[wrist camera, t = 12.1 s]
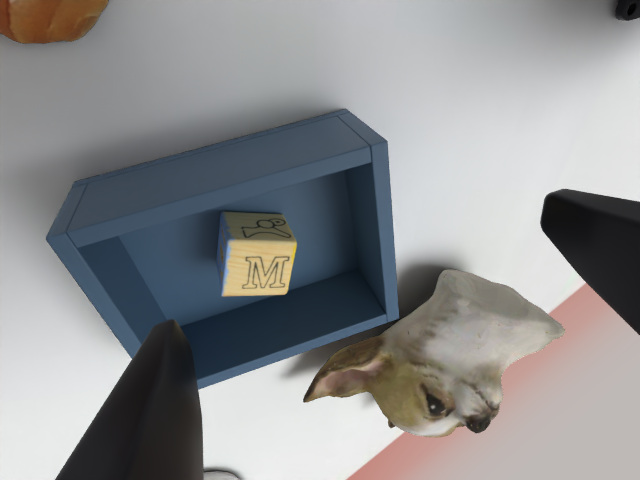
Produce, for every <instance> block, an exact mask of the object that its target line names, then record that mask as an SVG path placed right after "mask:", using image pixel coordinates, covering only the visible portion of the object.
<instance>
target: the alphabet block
mask: <svg viewBox="0 0 640 480" xmlns="http://www.w3.org/2000/svg"><path fill="white" fill-rule="evenodd" d="M296 247H297V242H296V240H295V238H294V236H293V234H292V232H291V230H290V228H289V226H288V224H287V222H286V220H285V218H284V216H283V214H266V213H244V212H225V211H222V212H221V215H220V226H219V237H218V248H217V258H216V264H217V270H218V276H219V283H220V290H221V296H224V297H225V296H256V295H285V294H286V293H287V291H288V286H289V282H290V276H291V271H292V266H293V262H294V257H295V252H296Z"/></svg>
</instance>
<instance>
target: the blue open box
mask: <svg viewBox="0 0 640 480" xmlns="http://www.w3.org/2000/svg"><path fill="white" fill-rule="evenodd" d="M222 211H225V212H244V213H266V214H283V216H284V218H285V220H286V222H287V224H288V226H289V228H290V230H291V232H292V234H293V236H294V238H295V240H296V242H297V247H296V252H295V257H294V262H293V266H292V271H291V276H290V282H289V286H288V291H287V293H286V294H285V295H256V296H225V297H224V296H221V290H220V283H219V276H218V270H217V264H216V258H217V248H218V237H219V226H220V215H221V212H222ZM46 240H47V242H48V243H49V245H50V246H51V247H52V249H53V250H54V251H55V253H56V254H57V256H58V257H59V258H60V260H61V261H62V263H63V264H64V265H65V267H66V268H67V269H68V271H69V272H70V274H71V275H72V276H73V278H74V279H75V281H76V282H77V283H78V285H79V286H80V287H81V289H82V290H83V292H84V293H85V294H86V296H87V297H88V299H89V300H90V301H91V303H92V304H93V305H94V307H95V308H96V310H97V311H98V312H99V314H100V315H101V317H102V318H103V319H104V321H105V322H106V323H107V325H108V326H109V328H110V329H111V330H112V332H113V333H114V335H115V336H116V337H117V339H118V340H119V341H120V343H121V344H122V346H123V347H124V348H125V350H126V351H127V353H128V354H129V355H130V357H131V358H132V359H133V357H134V356H135V354H136V353H137V351H138V349H139V348H140V346H141V345H142V343H143V342H144V340H145V338H146V337H147V335H148V334H149V332H150V331H151V329H152V328H153V326H154V325H156V324H158V323H161V322H164V321H167V320H170V319H173V320H175V321H176V322H177V323H178V324H179V326H180V328H181V329H182V331H183V333H184V334H185V336H186V338H187V340H188V341H189V343H190V345H191V348H192V353H193V359H194V366H195V373H196V379H197V386H198V389H201V388H204V387H207V386H210V385H213V384H215V383H218V382H221V381H224V380H227V379H230V378H232V377H235V376H238V375H241V374H244V373H247V372H249V371H252V370H255V369H258V368H261V367H263V366H266V365H269V364H272V363H275V362H278V361H280V360H283V359H286V358H289V357H292V356H295V355H297V354H300V353H303V352H306V351H309V350H312V349H314V348H317V347H320V346H323V345H326V344H329V343H331V342H334V341H337V340H340V339H343V338H346V337H348V336H351V335H354V334H357V333H360V332H363V331H365V330H368V329H371V328H374V327H377V326H380V325H382V324H385V323H387V322H391V321H394V320H396V319H399V308H398V293H397V278H396V263H395V248H394V233H393V218H392V204H391V189H390V174H389V159H388V144H387V141H386V140H385V139H384V138H383V137H381V136H380V135H379V134H378V133H376V132H375V131H374V130H373V129H371V128H370V127H369V126H367V125H366V124H365V123H364V122H362V121H361V120H360V119H359V118H357V117H356V116H355V115H354V114H352V113H351V112H350V111H348V110H347V109H344V110H340V111H336V112H333V113H329V114H325V115H322V116H318V117H314V118H310V119H307V120H303V121H299V122H295V123H292V124H288V125H284V126H281V127H277V128H273V129H269V130H266V131H262V132H258V133H254V134H251V135H247V136H243V137H240V138H236V139H232V140H228V141H225V142H221V143H217V144H213V145H210V146H206V147H202V148H198V149H195V150H191V151H187V152H184V153H180V154H176V155H172V156H169V157H165V158H161V159H157V160H154V161H150V162H146V163H143V164H139V165H135V166H131V167H128V168H124V169H120V170H116V171H113V172H109V173H105V174H102V175H98V176H94V177H90V178H87V179H83V180H79V181H75V182H74V184H73V186H72V188H71V190H70V192H69V194H68V196H67V198H66V200H65V202H64V203H63V205H62V207H61V209H60V211H59V213H58V215H57V217H56V219H55V221H54V223H53V225H52V227H51V228H50V230H49V232H48V234H47V236H46Z"/></svg>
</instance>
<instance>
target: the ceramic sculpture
mask: <svg viewBox="0 0 640 480" xmlns="http://www.w3.org/2000/svg"><path fill="white" fill-rule="evenodd" d="M564 333H565V329H564V328H563V326H562V325H561V324H560V323H559V322H557V321H556V320H554V319H553V318H552V317H550V316H549V315H548V314H547V313H545V312H544V311H543V310H542V309H541V308H539V307H538V306H536V305H534V304H532V303H531V302H529V301H528V300H526V299H525V298H523V297H522V296H521V295H520V294H519V293H518V292H517V291H515V290H514V289H513V288H511V287H509V286H506V285H503V284H499V283H494V282H491V281H489V280H486V279H484V278H482V277H479V276H477V275H474V274H472V273H467V272H461V271H457V270H453V269H449V270H444V271H442V273H441V274H440V275H439V277H438V281H437V284H436V288H435V291H434V293H433V295H432V297H431V298H430V299H429V300H428V301H426V302H425V303H424V304H422V305H421V306H419V307H418V308H417V309H415V310H414V311H413V312H412V313H410V314H409V315H407V316H406V317H404V318H403V319H401V320H399V321H398V322H397V323H395V324H394V325H392V326H391V327H390V328H388V329H387V330H386V331H384V332H383V333H382V334H380V335H379V336H374V337H371V338H369V339H366V340H363V341H361V342H358V343H355V344H352V345H349V346H346V347H344V348H342V349H340V350H338V351H337V352H336V353H335V354H334V355H332V356H331V357H330V359H329V360H328V361H327V362H326V364H325V365H324V366H323V367H322V368H321V369H320V370H319V372H318V373H317V375H316V376H315V378H314V379H313V381H312V383H311V385H310V387H309V388H308V390H307V392H306V394H305V396H304V399H303V402H309V401H312V400H315V399H317V398H321V397H325V396H332V397H341V398H343V397H350V396H353V395H355V394H358V393H363V392H370V393H371V394H372V395H373V396H374V398H375V400H376V402H377V404H378V405H379V407H380V409H381V411H382V413H383V414H384V415H385V416H386V417H387V418H388V425H389V427H390V428H393V427H395V426H397V427H398V428H400V429H402V430H403V431H406V432H409V433H411V434H414V435H418V436H425V437H443V436H448V435H450V434H451V433H452V432H453V431H454V430H455V428H456V427H463V426H467V428H469V429H470V430H471V431H473V432H475V433H480V432H482V431H484V430H485V429H486V428H487V427H488V426H489V424H490V422H491V420H493V419H494V418H495V416H496V415H497V414H498V412H499V407H500V406H499V405H500V403H501V402H502V400H503V390H502V385H501V376H502V374H503V372H504V370H505V369H506V368H507V367H508V366H509V365H511V364H512V363H513V362H515V361H516V360H518V359H520V358H521V357H523V356H526V355H528V354H531V353H534V352H537V351H540V350H542V349H543V348H544V347H545V346H546V345H548V344H549V343H550V342H552V340H554V339H558V338H560V337H562V336H563V335H564Z"/></svg>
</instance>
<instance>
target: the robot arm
mask: <svg viewBox="0 0 640 480" xmlns="http://www.w3.org/2000/svg"><path fill="white" fill-rule="evenodd" d="M628 7H629V8H628ZM615 15H616V18H617V19H618V20H626V21H629V20H633V19H636V18H640V0H618V4H617V8H616V14H615ZM540 224H541V228H542V230H543V232H544V233H545V234H546V235H547V237H548V238H549V239H550V240H551V242H552V243H553V244H554V245H555V246H556V248H557V249H558V250H559V251H560V252H561V254H562V255H563V256H564V257H565V258H566V260H567V261H568V262H569V263H570V264H571V266H572V267H573V268H574V269H575V271H576V272H577V273H578V274H579V275H580V276H581V277H582V279H583V280H584V281H585V282H586V283H587V284H588V285H589V286H590V287H591V288H593V290H594V291H595V292H596V293H597V294H598V295H599V296H600V297H601V298H602V299H603V300H604V301H605V302H606V303H608V305H610V306H611V307H612V308H613V309H614V310H615V311H616V312H617V313H618V314H619V315H620V316H621V317H622V318H623V319H624V320H625V321H626V322H627V323H628V324H629V325H630V326H631V327H632V328H633V329H634V330H635V331H636V332H637V333H638V334H639V335H640V202H638V201H632V200H626V199H621V198H615V197H609V196H603V195H598V194H592V193H586V192H581V191H575V190H569V189H561V190H558V191H555V192H552V193H549V194H548V195H547V196H546V197H545V199H544V204H543V210H542V215H541V221H540ZM55 480H204V472H203V432H202V414H201V407H200V400H199V393H198V386H197V379H196V373H195V366H194V359H193V353H192V348H191V345H190V343H189V341H188V340H187V338H186V336H185V334H184V333H183V331H182V329H181V328H180V326H179V324H178V323H177V322H176V321H175V320H173V319H170V320H167V321H164V322H161V323H158V324H156V325H154V326H153V328H152V329H151V331H150V332H149V334H148V335H147V337H146V338H145V340H144V342H143V343H142V345H141V346H140V348H139V349H138V351H137V353H136V354H135V356H134V357H133V359H132V360H131V362H130V363H129V365H128V367H127V368H126V370H125V371H124V373H123V374H122V376H121V377H120V379H119V381H118V382H117V384H116V385H115V387H114V388H113V390H112V392H111V393H110V395H109V396H108V398H107V399H106V401H105V402H104V404H103V406H102V407H101V409H100V410H99V412H98V413H97V415H96V417H95V418H94V420H93V421H92V423H91V424H90V426H89V427H88V429H87V431H86V432H85V434H84V435H83V437H82V438H81V440H80V442H79V443H78V445H77V446H76V448H75V449H74V451H73V452H72V454H71V456H70V457H69V459H68V460H67V462H66V463H65V465H64V466H63V468H62V470H61V471H60V473H59V474H58V476H57V477H56V479H55Z"/></svg>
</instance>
